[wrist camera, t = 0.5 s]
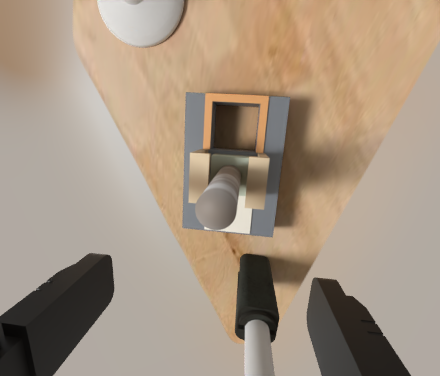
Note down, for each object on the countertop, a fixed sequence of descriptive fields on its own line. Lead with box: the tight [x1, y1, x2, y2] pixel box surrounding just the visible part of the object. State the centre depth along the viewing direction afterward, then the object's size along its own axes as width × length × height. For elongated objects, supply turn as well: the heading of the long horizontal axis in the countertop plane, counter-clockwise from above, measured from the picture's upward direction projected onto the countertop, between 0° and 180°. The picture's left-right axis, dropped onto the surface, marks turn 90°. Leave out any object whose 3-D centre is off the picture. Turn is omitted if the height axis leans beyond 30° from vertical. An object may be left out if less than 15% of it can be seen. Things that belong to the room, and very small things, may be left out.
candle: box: [235, 254, 279, 376], centre depth 29 cm, size 5×5×25 cm
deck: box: [183, 92, 290, 237], centre depth 35 cm, size 20×14×4 cm
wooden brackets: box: [188, 149, 270, 210], centre depth 30 cm, size 6×9×7 cm, turn 86°
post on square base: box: [195, 153, 249, 230], centre depth 25 cm, size 5×5×18 cm
